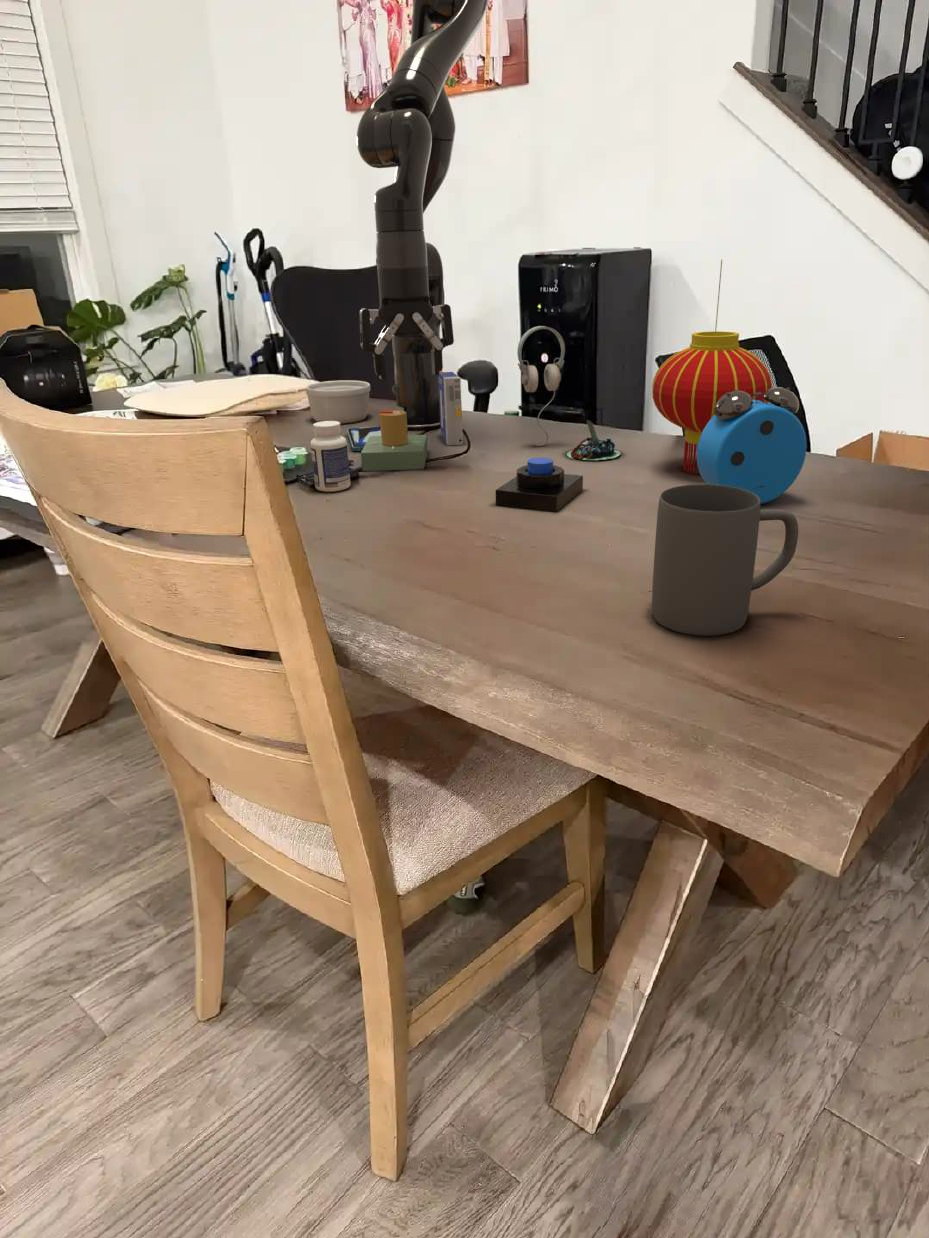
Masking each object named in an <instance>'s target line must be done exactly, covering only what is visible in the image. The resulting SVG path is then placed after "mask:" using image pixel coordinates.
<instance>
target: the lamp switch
mask: <svg viewBox="0 0 929 1238" xmlns="http://www.w3.org/2000/svg"><path fill="white" fill-rule="evenodd" d="M583 487H584V476H583V475H581V474H580V475H578V474H569V473H565V470H564V468H563V467H561V466H559V465H554V464H553V473H548V474H531V473H528V472H527V465H523V466H520V467H519V468H517V469H516V476H515V477H513V478H512V479H510V480H509V481H507V482H506V483H504V484H503V485H501V486H499V487H498V488H496V489H495V506H500V507H501V506H502V507H509V508H518V509H527V510H536V511H545V512H558V511H559V510H560V509H562V508H563V507H564V506H565V505H566V504H568V503H569V502H570V501H571V500H573V499H574V498H575V497H576V496H577V495H579V494H580V493H581V492H582V491H583V490H584V488H583Z"/></svg>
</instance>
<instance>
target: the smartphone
mask: <svg viewBox="0 0 929 1238" xmlns="http://www.w3.org/2000/svg"><path fill="white" fill-rule="evenodd" d="M346 433H347V437H348V440H349V443H350V446H351V450H352V451H354V452H362V450H363V448H364V446H365V444H366V442H367V440H368V439H369V437H370V436H381V425H377V426H365V427H351V428H347V429H346Z"/></svg>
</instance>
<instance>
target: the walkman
mask: <svg viewBox="0 0 929 1238" xmlns="http://www.w3.org/2000/svg"><path fill="white" fill-rule="evenodd" d="M461 380H462V379H461V377H460V376H458V375H457V374H456V373H455V372H454V371H444V370H442V371H440V373H439V375H438V386H439V408H440V427H439V428H440V430H439V431H440V437H441V439H442V440H443V441H444V443H445V444H446V445H447V446H461V445H463V444H464V440H463V437H464V435H463V410H462V408H463V406H462V385H461V382H462V381H461Z"/></svg>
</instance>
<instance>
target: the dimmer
mask: <svg viewBox="0 0 929 1238" xmlns="http://www.w3.org/2000/svg"><path fill="white" fill-rule="evenodd" d="M428 448H429V447H428V434H408V443H407V444H405V445H400V446H386V445H383V444H382V439H381V436H370V437H369V439H368V440H367V442H366V444H365V446H364V448H363V450H362V451H360V460H361V471H362V472H376V471H377V472H379V471H382V472H383V471H411V470H412V471H413V470H424V469H425V465H426V461H427V456H428V451H429V449H428Z"/></svg>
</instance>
